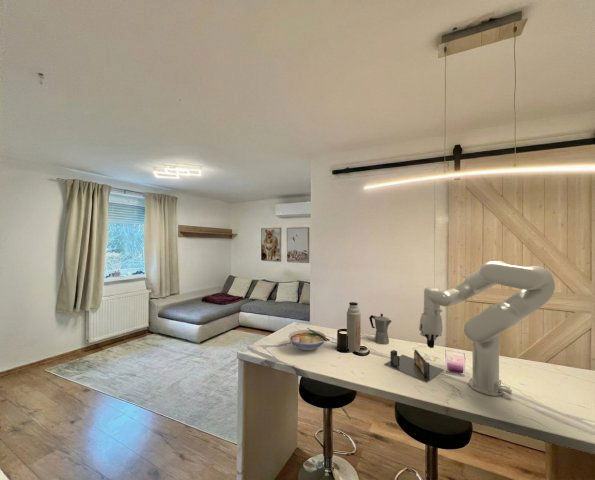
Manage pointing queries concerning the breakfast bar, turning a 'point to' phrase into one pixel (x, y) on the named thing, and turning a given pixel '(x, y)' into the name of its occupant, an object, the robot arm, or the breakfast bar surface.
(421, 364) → the gate
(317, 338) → the ramen bowl
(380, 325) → the coffeepot
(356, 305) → the thermos bottle
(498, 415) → the breakfast bar surface
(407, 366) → the gate frame
